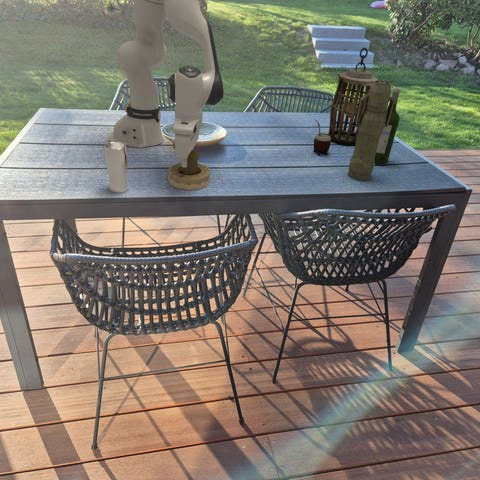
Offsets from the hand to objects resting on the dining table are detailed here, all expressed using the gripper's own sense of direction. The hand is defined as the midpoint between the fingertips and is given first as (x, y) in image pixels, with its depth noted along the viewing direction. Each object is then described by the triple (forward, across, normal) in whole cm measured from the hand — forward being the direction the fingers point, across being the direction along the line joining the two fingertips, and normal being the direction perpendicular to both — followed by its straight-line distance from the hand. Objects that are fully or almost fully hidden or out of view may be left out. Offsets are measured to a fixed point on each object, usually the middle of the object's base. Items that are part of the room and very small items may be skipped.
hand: (187, 161), depth 147 cm
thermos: (+7, -22, +62) cm, 67 cm away
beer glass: (+8, +12, -20) cm, 25 cm away
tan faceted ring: (+7, 0, +1) cm, 7 cm away
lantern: (+7, -63, +61) cm, 88 cm away
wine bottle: (+7, -39, +72) cm, 82 cm away
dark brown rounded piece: (+8, 0, +1) cm, 8 cm away
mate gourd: (+7, -42, +48) cm, 64 cm away
